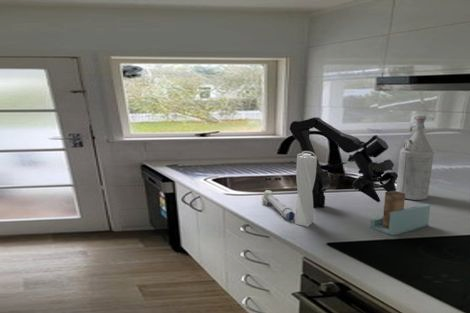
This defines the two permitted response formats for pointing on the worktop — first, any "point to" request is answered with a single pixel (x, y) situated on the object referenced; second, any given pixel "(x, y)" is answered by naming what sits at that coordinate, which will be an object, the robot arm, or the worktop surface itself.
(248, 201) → the worktop surface
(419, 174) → the white bottle
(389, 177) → the robot arm
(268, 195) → the syringe
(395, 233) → the backboard channel
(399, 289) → the worktop surface
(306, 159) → the skyscraper
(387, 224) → the walnut box
